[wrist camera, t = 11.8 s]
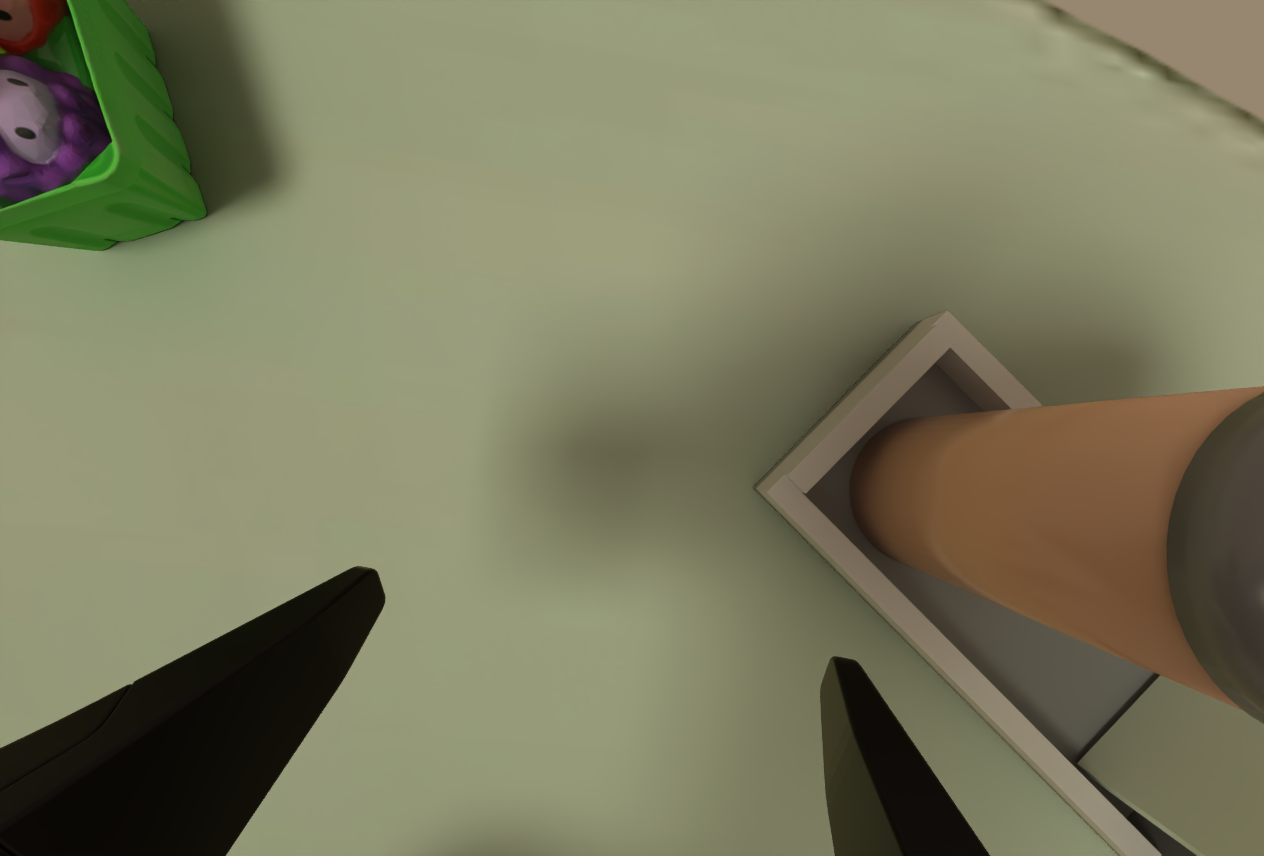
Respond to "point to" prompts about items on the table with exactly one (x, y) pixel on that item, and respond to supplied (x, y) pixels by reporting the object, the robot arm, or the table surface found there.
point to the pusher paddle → (1187, 769)
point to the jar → (1093, 524)
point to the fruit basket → (86, 128)
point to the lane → (949, 616)
